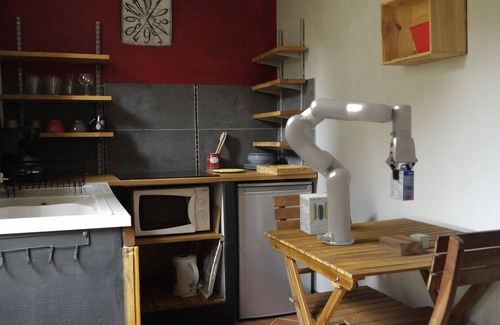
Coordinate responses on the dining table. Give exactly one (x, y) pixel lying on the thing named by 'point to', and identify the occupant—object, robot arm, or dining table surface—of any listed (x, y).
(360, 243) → the dining table surface
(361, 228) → the dining table surface
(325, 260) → the dining table surface
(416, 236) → the sage cube
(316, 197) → the supplement box
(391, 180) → the ink cartridge box
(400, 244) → the walnut block
